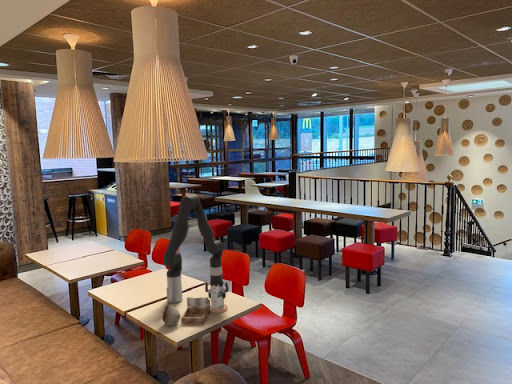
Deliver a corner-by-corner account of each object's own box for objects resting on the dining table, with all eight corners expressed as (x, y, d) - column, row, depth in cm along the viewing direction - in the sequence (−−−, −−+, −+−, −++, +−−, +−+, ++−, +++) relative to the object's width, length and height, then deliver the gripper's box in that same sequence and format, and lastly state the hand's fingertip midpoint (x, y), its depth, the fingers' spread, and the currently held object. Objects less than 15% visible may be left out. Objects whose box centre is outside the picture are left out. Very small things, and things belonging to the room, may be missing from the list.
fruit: (174, 318, 226) (172, 299, 224) (184, 322, 220) (183, 303, 218) (159, 325, 218) (158, 305, 217) (170, 329, 212) (168, 309, 211)
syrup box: (217, 310, 233) (216, 287, 231) (210, 307, 236) (210, 285, 235) (224, 307, 237) (223, 284, 235) (217, 304, 241) (216, 282, 239)
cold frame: (181, 323, 219) (180, 307, 218) (188, 312, 233) (187, 297, 232) (206, 323, 218) (205, 307, 217) (211, 313, 232) (210, 297, 230)
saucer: (206, 313, 231) (206, 311, 231) (210, 305, 243) (210, 303, 243) (225, 313, 230) (225, 311, 230) (229, 305, 242) (229, 303, 242)
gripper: (203, 275, 231) (204, 300, 233) (226, 275, 229) (227, 300, 232) (206, 271, 238) (207, 295, 240) (228, 271, 237) (229, 296, 239)
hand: (217, 298), depth 236 cm, fingers open, 8 cm apart
